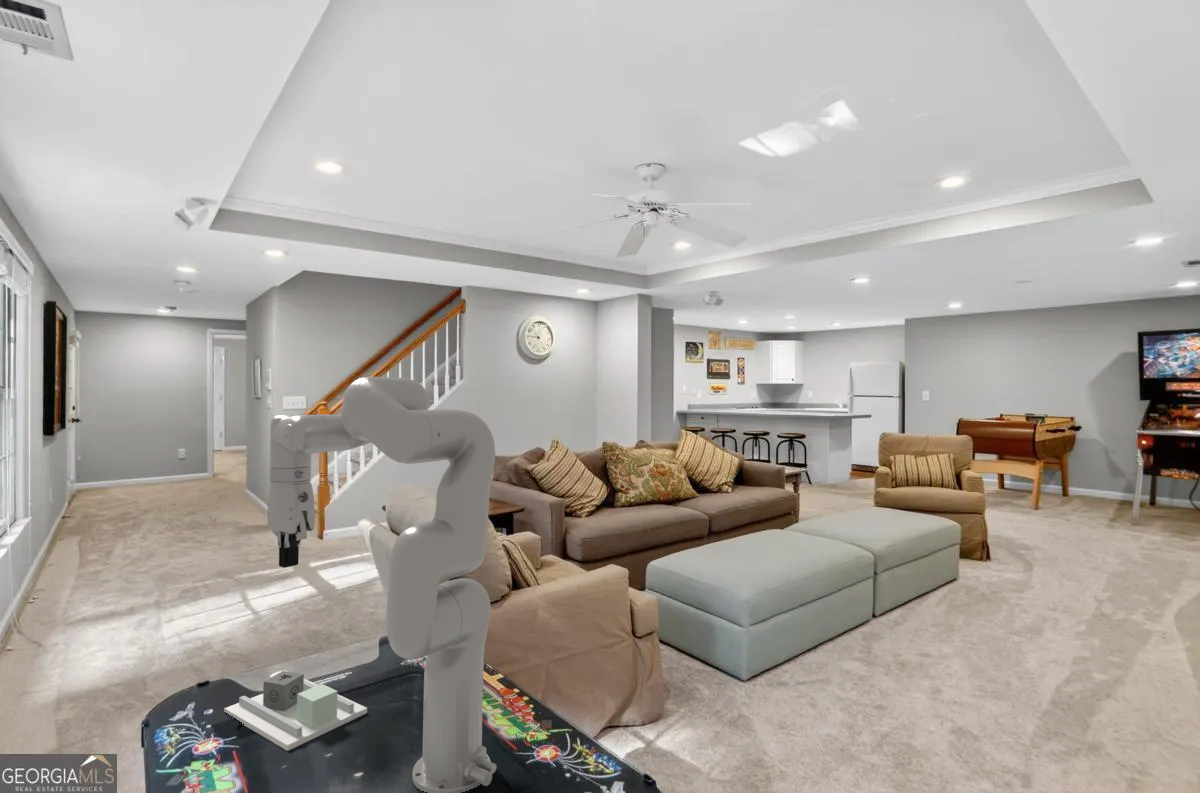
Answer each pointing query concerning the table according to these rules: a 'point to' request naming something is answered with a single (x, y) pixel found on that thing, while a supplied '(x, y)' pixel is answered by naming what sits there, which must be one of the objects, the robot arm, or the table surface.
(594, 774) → the table surface
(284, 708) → the dice cube
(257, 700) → the rail board
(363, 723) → the table surface
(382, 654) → the table surface
